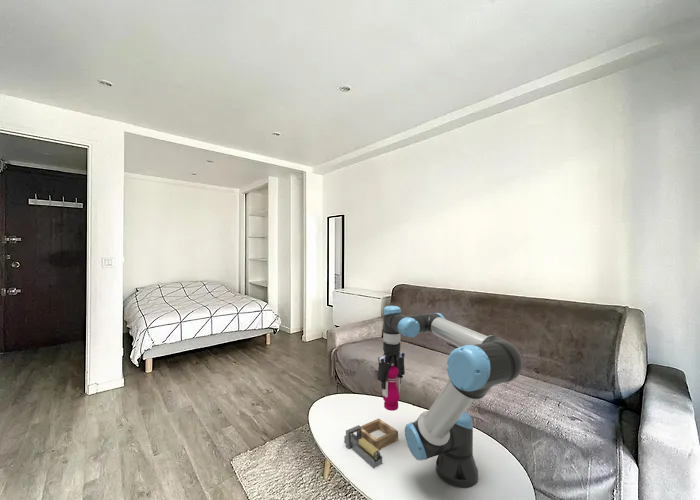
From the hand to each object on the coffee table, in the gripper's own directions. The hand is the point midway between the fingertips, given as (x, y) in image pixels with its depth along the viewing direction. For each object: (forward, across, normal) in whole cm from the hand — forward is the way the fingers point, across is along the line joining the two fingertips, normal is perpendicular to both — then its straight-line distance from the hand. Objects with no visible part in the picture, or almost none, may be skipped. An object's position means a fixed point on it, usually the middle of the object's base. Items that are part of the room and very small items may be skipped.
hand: (391, 393), depth 134 cm
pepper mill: (+6, 0, 0) cm, 6 cm away
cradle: (+22, +3, -5) cm, 23 cm away
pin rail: (+22, +14, -2) cm, 26 cm away
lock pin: (+19, +14, +3) cm, 24 cm away
